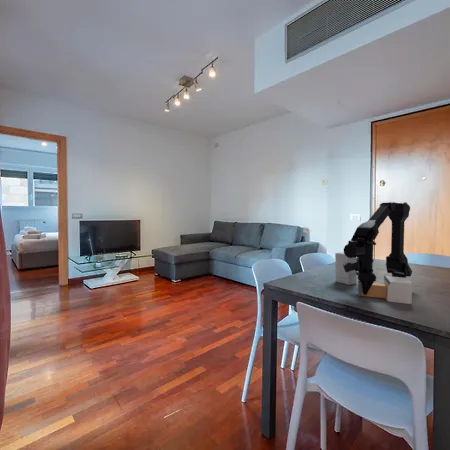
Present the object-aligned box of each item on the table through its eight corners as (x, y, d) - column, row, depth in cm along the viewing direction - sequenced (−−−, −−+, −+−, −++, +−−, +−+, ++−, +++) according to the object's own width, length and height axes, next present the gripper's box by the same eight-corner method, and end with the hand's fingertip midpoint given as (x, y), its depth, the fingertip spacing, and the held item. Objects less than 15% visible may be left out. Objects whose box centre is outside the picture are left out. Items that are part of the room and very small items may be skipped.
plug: (357, 292, 118) (358, 280, 117) (401, 297, 112) (401, 284, 111) (358, 295, 114) (358, 283, 113) (403, 300, 108) (404, 287, 107)
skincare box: (356, 284, 132) (357, 253, 132) (347, 285, 130) (348, 254, 129) (342, 279, 140) (343, 251, 139) (334, 281, 137) (335, 252, 137)
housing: (383, 294, 117) (384, 275, 116) (405, 296, 114) (405, 277, 113) (387, 301, 107) (388, 281, 107) (411, 304, 104) (412, 283, 104)
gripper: (343, 251, 126) (342, 284, 126) (345, 258, 108) (344, 296, 109) (370, 253, 121) (369, 287, 122) (376, 260, 104) (375, 300, 105)
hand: (363, 292), depth 115 cm, fingers open, 7 cm apart
